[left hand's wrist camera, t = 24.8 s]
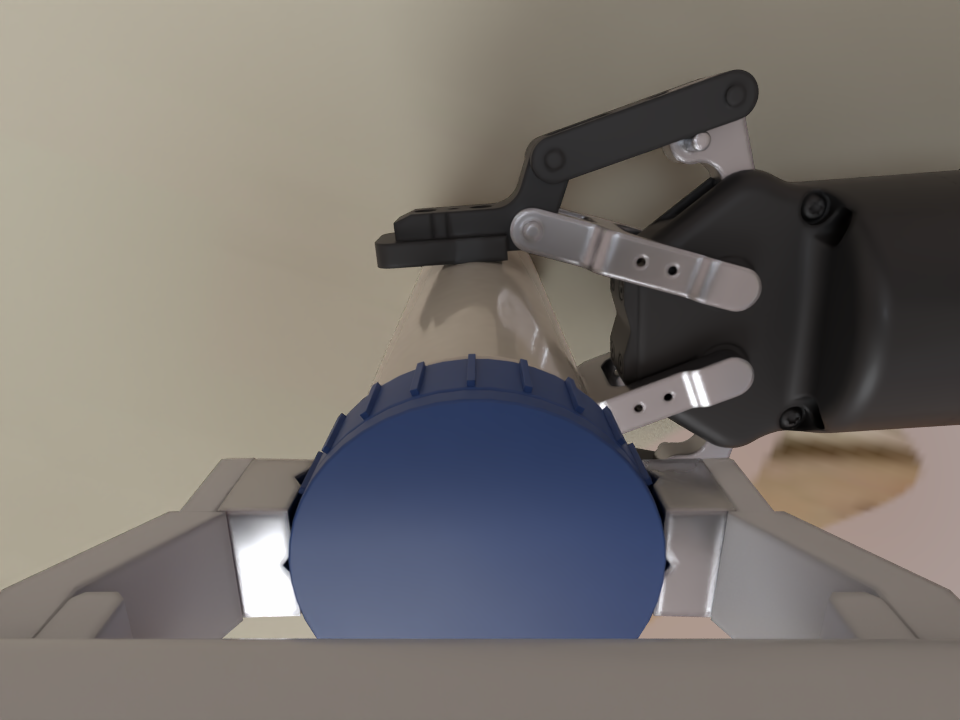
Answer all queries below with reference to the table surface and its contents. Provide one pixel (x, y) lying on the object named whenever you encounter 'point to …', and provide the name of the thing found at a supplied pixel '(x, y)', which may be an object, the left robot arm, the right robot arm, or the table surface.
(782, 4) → the table surface
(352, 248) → the table surface
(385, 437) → the lid
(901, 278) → the right robot arm
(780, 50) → the table surface
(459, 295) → the jar
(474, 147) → the table surface
